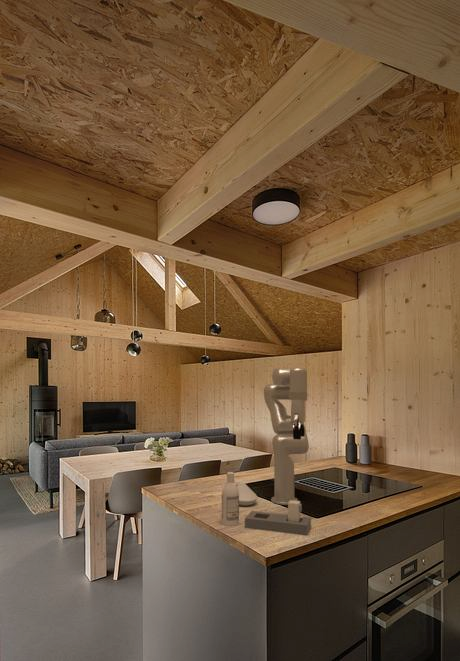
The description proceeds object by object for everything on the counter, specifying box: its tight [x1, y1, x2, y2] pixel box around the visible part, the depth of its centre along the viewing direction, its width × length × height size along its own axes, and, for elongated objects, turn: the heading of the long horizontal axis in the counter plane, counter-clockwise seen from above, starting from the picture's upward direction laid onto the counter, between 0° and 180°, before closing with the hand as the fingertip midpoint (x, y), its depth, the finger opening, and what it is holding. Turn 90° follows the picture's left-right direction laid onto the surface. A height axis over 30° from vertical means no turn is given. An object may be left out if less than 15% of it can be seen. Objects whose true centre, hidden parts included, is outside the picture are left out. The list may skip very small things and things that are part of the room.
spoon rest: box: [236, 482, 258, 507], centre depth 200 cm, size 24×12×7 cm, turn 8°
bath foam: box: [221, 471, 240, 527], centre depth 166 cm, size 7×7×20 cm
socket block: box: [244, 510, 312, 536], centre depth 161 cm, size 10×24×4 cm, turn 71°
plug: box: [287, 500, 303, 523], centre depth 160 cm, size 4×5×10 cm
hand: (299, 437), depth 175 cm, fingers open, 9 cm apart
